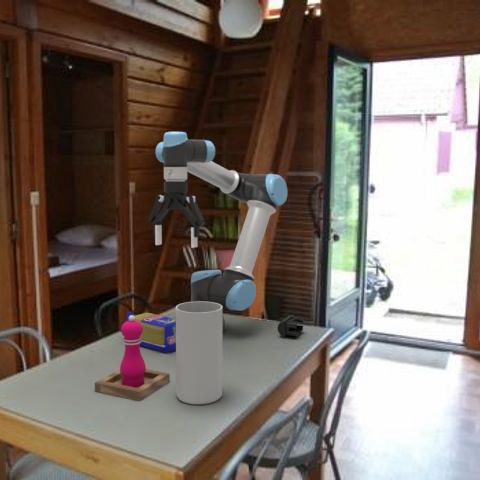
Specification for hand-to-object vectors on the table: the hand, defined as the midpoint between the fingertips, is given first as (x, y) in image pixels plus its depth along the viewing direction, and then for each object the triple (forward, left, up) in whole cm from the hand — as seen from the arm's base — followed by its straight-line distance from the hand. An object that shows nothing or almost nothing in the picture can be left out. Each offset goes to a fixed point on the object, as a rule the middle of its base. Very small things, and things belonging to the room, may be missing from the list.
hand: (176, 246), depth 179 cm
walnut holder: (+29, +3, -37) cm, 47 cm away
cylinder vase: (+27, +23, -37) cm, 51 cm away
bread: (-6, -13, -37) cm, 40 cm away
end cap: (-37, +27, -37) cm, 59 cm away
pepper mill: (+29, +3, -36) cm, 46 cm away
